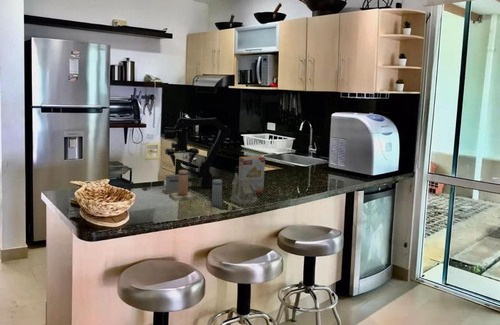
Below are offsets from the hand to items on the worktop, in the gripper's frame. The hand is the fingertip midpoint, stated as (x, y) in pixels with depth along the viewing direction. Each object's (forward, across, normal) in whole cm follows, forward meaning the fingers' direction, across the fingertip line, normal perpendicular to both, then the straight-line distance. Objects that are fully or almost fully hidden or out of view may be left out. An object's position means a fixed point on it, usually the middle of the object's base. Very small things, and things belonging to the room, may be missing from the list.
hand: (182, 165), depth 265 cm
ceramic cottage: (+13, -22, +40) cm, 47 cm away
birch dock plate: (+13, +7, +23) cm, 27 cm away
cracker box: (+13, -33, +25) cm, 44 cm away
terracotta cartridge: (+11, +7, +23) cm, 27 cm away
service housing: (+13, +8, +10) cm, 18 cm away
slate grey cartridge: (+13, -4, +44) cm, 46 cm away
